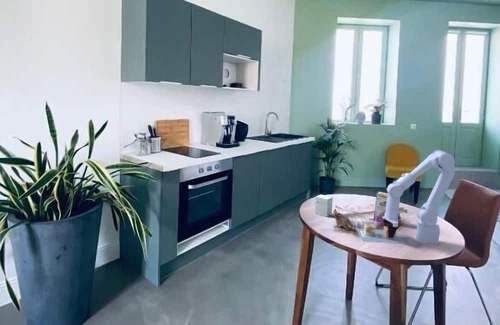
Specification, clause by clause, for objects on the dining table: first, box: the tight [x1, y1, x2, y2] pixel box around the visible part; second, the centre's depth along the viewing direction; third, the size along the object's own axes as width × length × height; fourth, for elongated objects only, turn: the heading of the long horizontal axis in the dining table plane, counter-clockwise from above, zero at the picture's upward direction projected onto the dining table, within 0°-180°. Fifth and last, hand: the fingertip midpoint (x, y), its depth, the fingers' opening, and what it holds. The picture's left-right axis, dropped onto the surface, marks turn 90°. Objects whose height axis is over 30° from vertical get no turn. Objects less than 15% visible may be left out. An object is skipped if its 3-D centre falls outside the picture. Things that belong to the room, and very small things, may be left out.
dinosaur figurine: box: [332, 209, 357, 231], centre depth 185 cm, size 14×6×9 cm, turn 49°
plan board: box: [355, 227, 407, 245], centre depth 177 cm, size 20×16×1 cm
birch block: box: [363, 223, 377, 236], centre depth 177 cm, size 4×4×4 cm
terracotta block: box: [382, 225, 397, 239], centre depth 175 cm, size 4×4×4 cm
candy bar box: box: [373, 191, 388, 224], centre depth 194 cm, size 11×5×16 cm, turn 58°
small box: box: [314, 194, 333, 218], centre depth 206 cm, size 8×6×10 cm
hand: (389, 235), depth 175 cm, fingers closed on terracotta block, 4 cm apart
